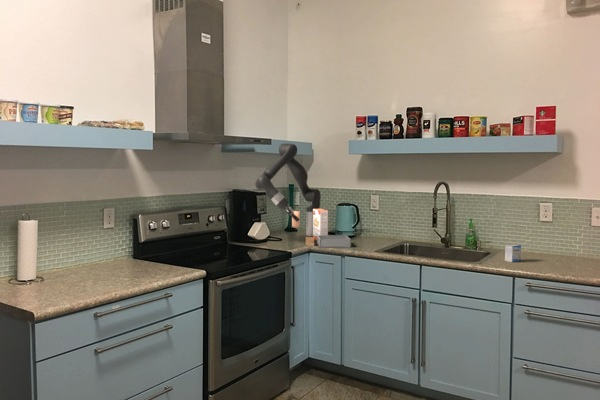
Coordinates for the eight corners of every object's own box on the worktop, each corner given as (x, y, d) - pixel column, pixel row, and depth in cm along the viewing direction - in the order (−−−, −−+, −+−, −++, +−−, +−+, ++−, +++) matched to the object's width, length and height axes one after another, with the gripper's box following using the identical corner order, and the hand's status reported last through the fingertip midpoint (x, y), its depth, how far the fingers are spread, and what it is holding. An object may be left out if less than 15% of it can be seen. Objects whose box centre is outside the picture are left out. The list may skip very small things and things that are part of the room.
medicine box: (511, 262, 268) (512, 246, 267) (504, 261, 272) (505, 245, 271) (521, 260, 272) (521, 245, 272) (513, 259, 276) (514, 243, 275)
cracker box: (312, 239, 344) (312, 208, 342) (320, 238, 346) (320, 208, 344) (319, 242, 330) (319, 210, 329) (328, 241, 332) (328, 210, 331)
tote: (316, 243, 327) (317, 235, 326) (346, 242, 328) (346, 235, 328) (320, 247, 309) (320, 239, 309) (350, 247, 311) (351, 239, 311)
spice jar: (291, 226, 320) (291, 210, 320) (299, 226, 321) (299, 210, 320) (292, 227, 315) (292, 211, 315) (300, 227, 316) (300, 211, 315)
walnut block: (305, 244, 321) (305, 236, 320) (313, 244, 321) (313, 236, 321) (306, 246, 316) (306, 238, 316) (314, 246, 316) (314, 238, 316)
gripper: (282, 197, 310) (302, 217, 310) (285, 195, 324) (304, 214, 324) (274, 206, 311) (293, 225, 311) (277, 204, 325) (295, 222, 325)
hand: (298, 220), depth 318 cm, fingers closed on spice jar, 5 cm apart
